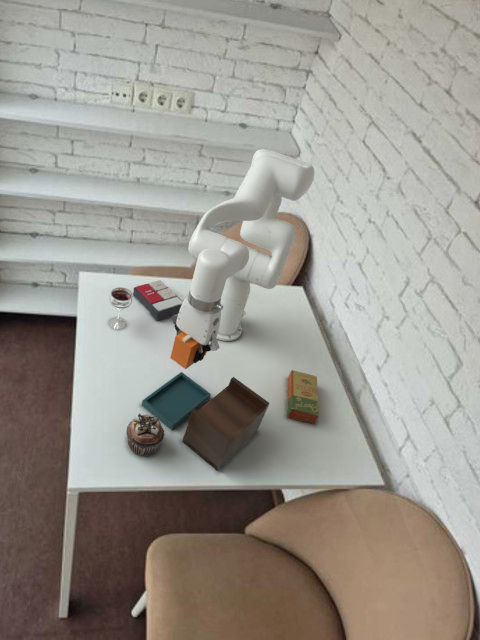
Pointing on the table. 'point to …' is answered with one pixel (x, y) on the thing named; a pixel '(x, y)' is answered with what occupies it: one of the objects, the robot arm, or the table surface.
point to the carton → (302, 397)
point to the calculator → (158, 299)
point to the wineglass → (120, 304)
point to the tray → (176, 400)
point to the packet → (184, 350)
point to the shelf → (225, 423)
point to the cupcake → (144, 434)
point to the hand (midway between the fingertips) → (189, 353)
